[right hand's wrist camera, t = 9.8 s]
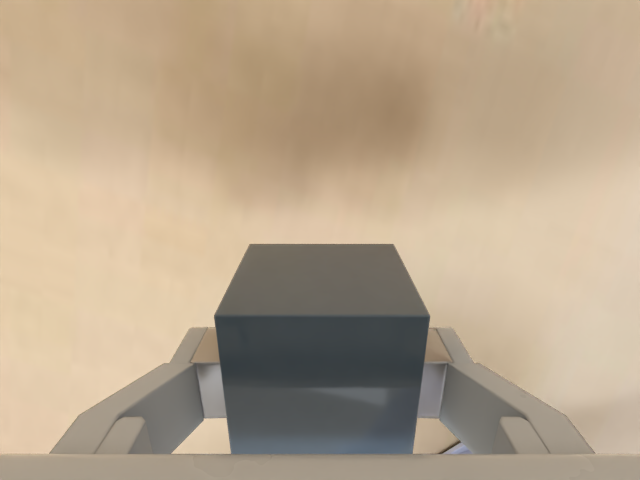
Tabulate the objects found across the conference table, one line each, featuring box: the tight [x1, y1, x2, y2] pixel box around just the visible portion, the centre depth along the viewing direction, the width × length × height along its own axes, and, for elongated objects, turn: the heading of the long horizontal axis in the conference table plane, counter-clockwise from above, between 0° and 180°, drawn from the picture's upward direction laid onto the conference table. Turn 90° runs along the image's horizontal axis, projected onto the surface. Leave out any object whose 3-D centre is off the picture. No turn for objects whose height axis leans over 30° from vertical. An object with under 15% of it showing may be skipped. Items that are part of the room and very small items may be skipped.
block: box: [214, 244, 430, 454], centre depth 10 cm, size 5×5×4 cm
